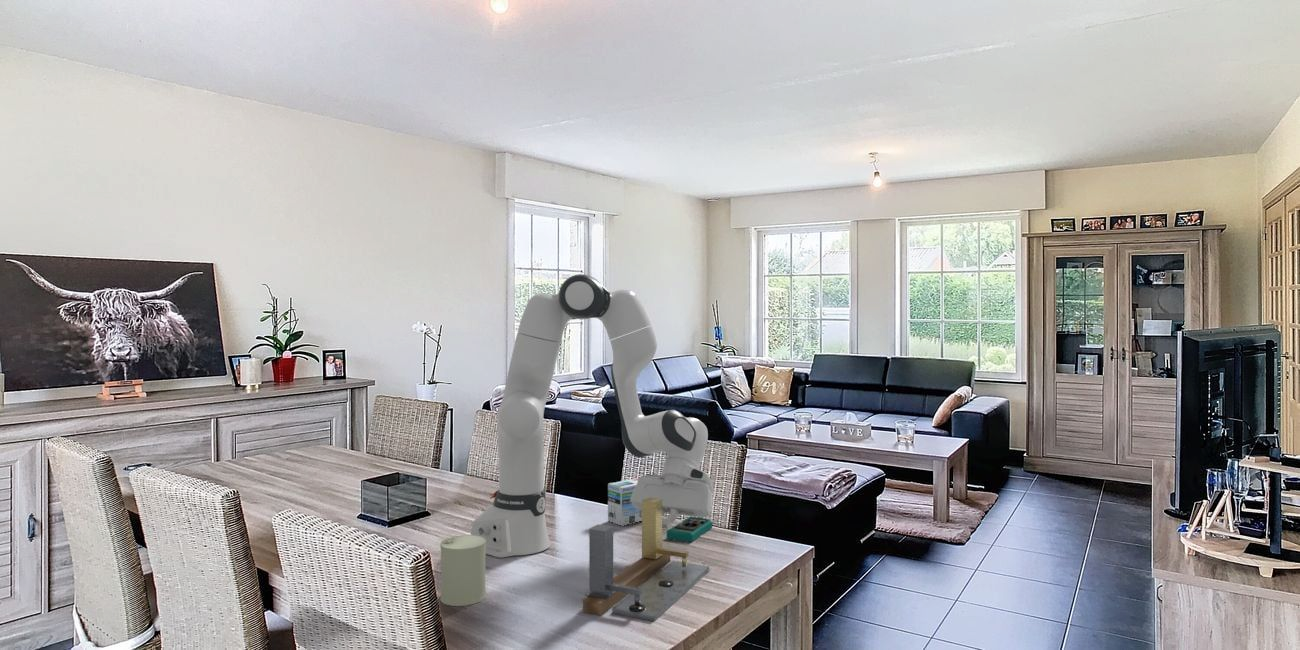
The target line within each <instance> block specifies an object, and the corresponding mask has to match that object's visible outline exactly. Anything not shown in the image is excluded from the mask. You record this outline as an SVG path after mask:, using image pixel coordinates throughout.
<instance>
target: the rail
mask: <svg viewBox="0 0 1300 650" xmlns="http://www.w3.org/2000/svg"><path fill="white" fill-rule="evenodd" d="M669 563H671V556H670V555H664V554H662V555H661V556H660V557H658V558H657V559H650V558H643V557H642V556H641V557H640V558H639V559H638V560H636V561H635V562H634V563H633V564H630V566H628V567H627V568H625V569H623V570H622V571H621V572H619V573H618V574H617V575H615V576H613V583H614V584H620V585H625V586H631V587H636V588H639V587H640V586H641V585H642V584H644V583H645V582H646V581H648V580H649V579H650V578H651V577H653V576H654V575H655V574H657V573H658V572H659V571H660V570H662V569H663V568H664V567H665V566H667V565H668V564H669ZM628 595H629V594H627V593H622V592H617V593H615V594H614V595H613V596H611V597H610V598H609V599H607V600H605V599H599V598H594V597H589V596H585V597H584V598H583V599H582V613H586V614H591V615H596V616H602V615H603V614H604V613H606V612H607V611H609V610H610V609H611V608H613V607H614V606H616V605H617V604H618V603H619V602H621V601H622V600H623V599H624V598H626V597H627V596H628Z"/></svg>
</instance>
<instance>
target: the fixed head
mask: <svg viewBox="0 0 1300 650" xmlns="http://www.w3.org/2000/svg"><path fill="white" fill-rule="evenodd" d="M588 532H589V536H588V537H589V538H588V540H589V542H588V543H589V545H588V546H589V550H588V551H589V552H588V553H589V560H588V561H589V562H588V563H589V564H588V565H589V567H588V571H589V575H588V576H589V587H588V588H589V589H588V590H589V591H588V592H587V593H585V597H587V596H589V597H594V598H599V599H605V600H607V599H609V598H610V597H611V596H613V595H614V594H615V593H617V592H622V593H627V594H628V595H630V594H632V595H635V606H640V595H641V594H642V588H639V587H637V588H636V587H631V586H625V585H620V584H614V583H613V578H614V526H612V525H606V524H605V525H604V524H599V523H598V524H596V525H593V526H592V527H591V528H589V531H588Z"/></svg>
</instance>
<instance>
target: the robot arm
mask: <svg viewBox="0 0 1300 650" xmlns="http://www.w3.org/2000/svg"><path fill="white" fill-rule="evenodd" d="M594 318H595V319H598V320H599V321H600V322H601V323H602V324H603V325H604V329H605V330H606V334H607V336H608V339H609V342H610V344H611V348H612V349H611V350H612V359H613V360H612V363H611V367H610V374H611V375H610V376H611V381H612V382H611V383H612V386H613V391H614V392H613V393H614V396H615V400H616V404H617V405H616V406H617V409H618V414H619V417H620V418H619V419H620V423H621V438H622V443H623V445H624V448H625V449H626V450H627V451H628V452H629V453H630V454H631V455H632V456H634V457H635V458H645V457H648V456H651V455H654V454H657V453H658V454H659V453H662V452H664V453H665V454H666V456H667V458H666V459H665V461H664V464H663V466H662V469H661V474H659V475H658V474H650V473H645V475H642V476H639V477H638V478H637V479H638V482H637V485H636V487H635V489H634V491H633V493H632V495H631V498H630V500H631V503H632V504H633V506H634V507H635V508H636V509H642V500H644V499H646V498H648V497H652V498H660V499H662V517H663V516H664V515H665V513H666V514H670V515H668V517H667V518H662V529H664V530H669V529H670V528H671V525H672V524H673V523H674V522H675V521H676V520H677V519H678V517H679V515H681V516H689V517H699V518H705V519H707V517H709V516H710V515H711V513H712V508H713V502H714V496H713V491H714V488H715V487H714V484H713V482H712V479H711V477H710V475H709V474H708V473H707V472H706V471H703V470H701V469H700V464H701V463H702V461H703V459H704V457H705V454H706V449H707V446H708V440H709V439H708V437H709V433H708V428H707V426H706V425H705V423H704V422H702V421H701V420H700V419H698V418H695V417H691V416H689V417H686V416H684V415H683V414H682V413H681V412H680V411H677V410H675V409H670V410H665V411H664V410H663V411H659V412H657V413H653V414H650V415H644V413H643V412H642V407H641V406H642V405H641V403H640V398H639V394H638V390H637V379H638V377H639V375H640V373H641V372H642V371H643V370H644V369H645V368H646V367H647V366H648V365H649V364H650V363H651V361H653V358H654V357H655V354H656V351H657V349H658V348H657V346H658V343H657V338H656V335H655V331H654V330H653V327H652V324H651V320H650V318H649V316H648V314H647V311H646V309H645V308H644V306H643V304H642V302H641V300H640V299H639V298H638V296H637V294H636V293H635V292H633V291H632V290H630V289H618V290H615V291H609V290H608V289H607V288H606V287H605V286H604V285H602V284H601V282H600V281H599V280H598V279H596V278H595V277H593V276H591V275H587V274H584V273H583V274H580V273H579V274H574V275H570V277H567V279H565V280H564V281H563V283H561V286H560V287H559V290H558V292H557V293H555V294H549V293H537V294H535V295H533V296H532V297H530V299H529V300H528V302H527V303H526V306H525V309H524V311H523V313H522V316H521V319H520V321H519V322H520V323H519V326H518V328H517V334H516V336H515V337H516V338H515V340H514V346H513V349H512V354H511V358H510V362H509V367H508V372H507V377H506V382H505V384H504V385H505V386H504V389H503V393H502V394H503V395H502V399H501V403H500V406H499V407H498V410H497V416H496V422H497V425H496V426H497V449H498V490H496V491H495V492H492V493H490V494H489V496H490V497H489V500H491V499H493V498H494V499H493V502H492V505H490V506H489V507H488V508H487V509H486V510H485V511H483V512H482V513H481V514H480V515H478V516H476V518H474V520H473V522H472V525H471V527H470V535H473V536H480V537H483V538H484V539H485V540H486V548H485V555H489V556H493V557H495V558H508V557H513V556H525V555H531V554H537V553H540V552H543V551H545V550H547V549H549V548H550V546H551V541H550V537H549V534H548V530H547V529H548V528H547V523H546V514H545V511H546V488H544V487H545V486H544V485H545V484H544V483H545V482H544V480H545V475H544V474H545V473H544V470H545V468H544V467H545V464H544V459H545V458H544V457H545V455H544V450H545V449H544V416H545V415H544V414H545V408H546V403H547V400H548V396H549V391H550V387H551V385H552V380H553V377H554V372H555V368H556V365H557V361H558V360H557V359H558V356H559V352H560V347H561V342H562V338H563V334H564V332H565V328H566V325H567V323H568V322H569V321H571V320H572V321H573V320H589V319H594Z"/></svg>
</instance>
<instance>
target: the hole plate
mask: <svg viewBox="0 0 1300 650" xmlns="http://www.w3.org/2000/svg"><path fill="white" fill-rule="evenodd" d="M709 572H710V566H709V565H702V564H696V563H690V562H687V567H682V561H678V560H672V561H670V562H669V563H668V564H666V565H665V566H664V567H663V568H661V569H660V570H659V571H657V572H656V573H655V574H654V575H652V576H651V577H650V578H648V579H647V580H646V581H644V582H643V583H642V584H641V585H639V586H638V588H642V594H641V595H640V606H635V595H632V594H628V595H626V596H625V597H624V598H623V599H621V600H620V601H619V602H617V603H616V604H615V605H614V606H612V607H611V608H612V609H611V612H612V614H615V615H620V616H625V617H631V618H634V619H635V618H636V619H640V620H645V621H650V622H655V621H656V620H657V619H659V617H660V616H662V615H663V614H664V613H665V612H666V611H667V610H668V609H670V607H672V606H673V605H674V604H675V602H677V601H678V600H679V599H680V598H681V597H682V596H684V595H685V594H686V593H687V592H688V591H689V590H690V589H691V588H692V587H693V586H694V585H696V584H697V583H698V582H699V581H701V580H702V578H703V577H705V576H706V574H707V573H709Z"/></svg>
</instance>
